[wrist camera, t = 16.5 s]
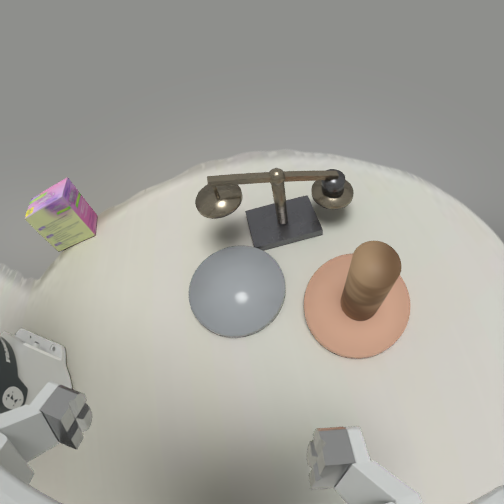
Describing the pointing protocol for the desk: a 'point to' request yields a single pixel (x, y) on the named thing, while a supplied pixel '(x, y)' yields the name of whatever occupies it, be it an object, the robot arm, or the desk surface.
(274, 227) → the balance
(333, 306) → the dish
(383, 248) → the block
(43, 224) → the box
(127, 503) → the desk surface
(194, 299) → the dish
